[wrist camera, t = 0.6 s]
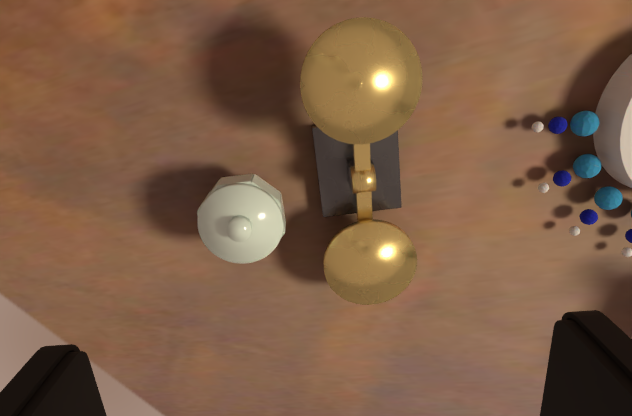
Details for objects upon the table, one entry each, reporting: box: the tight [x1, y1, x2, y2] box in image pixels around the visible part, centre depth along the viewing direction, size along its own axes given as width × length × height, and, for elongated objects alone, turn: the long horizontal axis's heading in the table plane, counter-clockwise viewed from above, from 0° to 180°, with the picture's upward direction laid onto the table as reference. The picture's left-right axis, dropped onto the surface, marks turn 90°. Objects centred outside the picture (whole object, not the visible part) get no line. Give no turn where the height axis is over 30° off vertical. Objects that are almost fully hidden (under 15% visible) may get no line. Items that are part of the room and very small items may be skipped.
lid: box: [197, 174, 286, 263], centre depth 34 cm, size 7×7×4 cm
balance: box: [300, 17, 422, 305], centre depth 34 cm, size 8×23×7 cm, turn 7°
